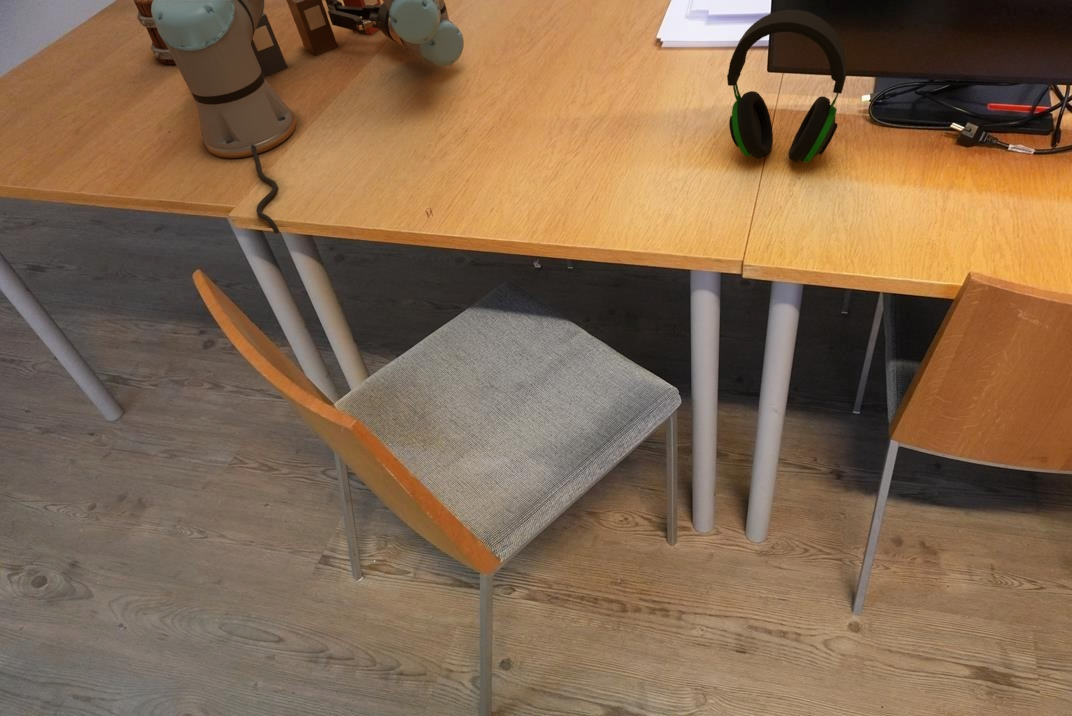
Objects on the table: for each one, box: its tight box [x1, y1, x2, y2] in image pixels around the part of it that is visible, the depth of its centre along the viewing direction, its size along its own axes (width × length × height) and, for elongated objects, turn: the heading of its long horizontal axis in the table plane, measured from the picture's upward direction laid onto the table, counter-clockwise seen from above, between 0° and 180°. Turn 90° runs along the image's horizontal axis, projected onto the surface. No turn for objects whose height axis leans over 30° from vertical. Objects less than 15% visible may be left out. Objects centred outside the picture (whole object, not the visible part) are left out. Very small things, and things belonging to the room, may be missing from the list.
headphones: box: [726, 9, 848, 163], centre depth 106 cm, size 9×16×20 cm, turn 71°
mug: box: [133, 0, 176, 65], centre depth 155 cm, size 12×14×15 cm
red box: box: [342, 0, 382, 36], centre depth 154 cm, size 5×5×10 cm
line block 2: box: [286, 0, 339, 57], centre depth 150 cm, size 5×5×10 cm
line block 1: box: [251, 12, 288, 78], centre depth 146 cm, size 5×5×10 cm
